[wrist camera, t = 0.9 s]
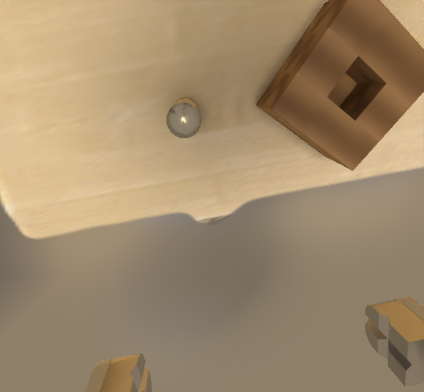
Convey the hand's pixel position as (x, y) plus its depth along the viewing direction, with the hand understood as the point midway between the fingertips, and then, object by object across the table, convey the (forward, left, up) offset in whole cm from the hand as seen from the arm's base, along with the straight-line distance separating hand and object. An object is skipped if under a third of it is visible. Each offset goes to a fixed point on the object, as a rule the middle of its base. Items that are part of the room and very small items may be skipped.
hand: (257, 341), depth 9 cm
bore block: (-17, +12, -35) cm, 41 cm away
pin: (-2, -5, -35) cm, 35 cm away
